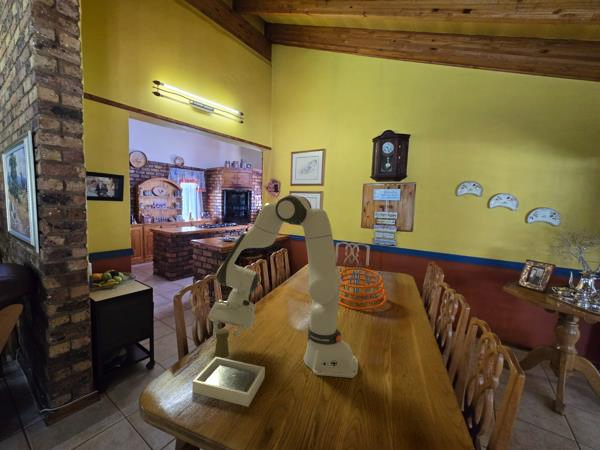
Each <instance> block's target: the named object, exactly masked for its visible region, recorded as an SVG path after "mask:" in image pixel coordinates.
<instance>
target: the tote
mask: <svg viewBox="0 0 600 450" xmlns="http://www.w3.org/2000/svg"><path fill="white" fill-rule="evenodd" d="M220 365H222V366H226V367H231V368H235V369H240V370H244V371H249V372H253V373H255V380H254V381H253V383H252V385H251V386H250V388H249V390H248V391H247V392H243V391H239V390H235V389H231V388H227V387H223V386H219V385H214V384H210V383H206V381H207V379H208V378H209V377H210V376H211V375H212V374H213V373H214V371H215V370H216V369H217V368H218V367H219V366H220ZM265 373H266V367H265V366H260V365H256V364H252V363H248V362H247V363H246V362H242V361H238V360H232V359H228V358H225V357H224V358H220V357H215V356H214V358H212V360H211V361H210V362H209V363H208V364H207V365H206V366H205V368H204V369H202V371H201V372H200V373H199V374H198V375H197V376H195V378H194V379H193V380H192V393H193V394H197V395H201V396H204V397H209V398H211V399H212V398H213V399H217V400H219V401H225V402H228V403H232V404H236V405H239V406H244V407H247V408H249V406H250V405H251V403H252V401H253V399H254V398H255V395H256V393H257V392H258V390H259V388H260V386H261V385H262V383H263V381H264V380H265V378H266V377H265V375H266V374H265Z"/></svg>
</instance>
